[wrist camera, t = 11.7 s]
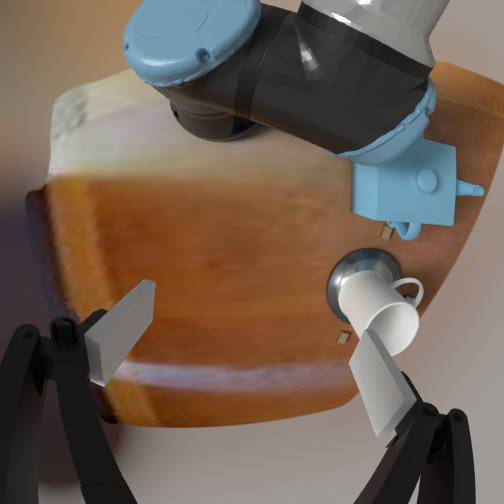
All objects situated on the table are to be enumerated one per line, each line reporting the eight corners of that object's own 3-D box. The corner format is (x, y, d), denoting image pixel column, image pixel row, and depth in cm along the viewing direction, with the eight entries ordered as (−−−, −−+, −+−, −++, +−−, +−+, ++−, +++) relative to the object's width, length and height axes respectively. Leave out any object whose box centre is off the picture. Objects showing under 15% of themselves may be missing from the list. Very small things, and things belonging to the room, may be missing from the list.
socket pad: (351, 212, 39) (353, 213, 38) (433, 245, 40) (436, 247, 39) (305, 333, 44) (306, 336, 43) (386, 350, 45) (388, 353, 44)
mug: (391, 249, 39) (431, 272, 28) (408, 291, 41) (445, 322, 29) (329, 288, 41) (350, 325, 30) (350, 327, 43) (373, 370, 31)
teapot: (346, 227, 40) (379, 246, 28) (348, 125, 36) (381, 104, 24) (438, 232, 39) (486, 250, 27) (442, 143, 36) (490, 136, 23)
